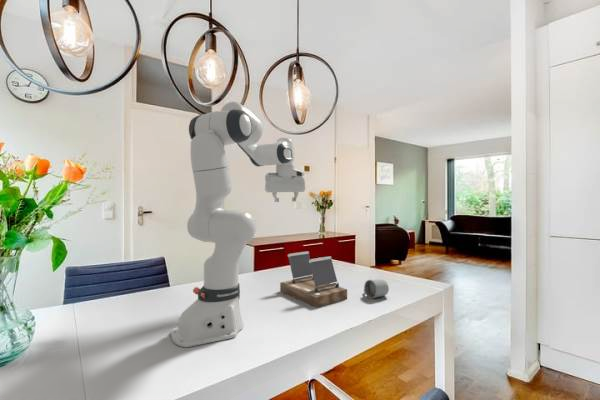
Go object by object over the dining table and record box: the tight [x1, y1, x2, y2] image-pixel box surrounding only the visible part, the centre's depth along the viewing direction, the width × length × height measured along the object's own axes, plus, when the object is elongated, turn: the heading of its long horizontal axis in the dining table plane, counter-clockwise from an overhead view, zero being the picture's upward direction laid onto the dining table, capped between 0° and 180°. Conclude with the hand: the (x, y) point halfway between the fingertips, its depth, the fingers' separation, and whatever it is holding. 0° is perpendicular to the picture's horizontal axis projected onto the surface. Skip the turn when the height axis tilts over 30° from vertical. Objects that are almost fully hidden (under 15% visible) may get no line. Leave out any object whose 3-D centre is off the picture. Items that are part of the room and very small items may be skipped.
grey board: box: [287, 250, 312, 279], centre depth 143 cm, size 11×2×11 cm, turn 127°
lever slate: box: [309, 256, 338, 287], centre depth 130 cm, size 11×2×11 cm, turn 127°
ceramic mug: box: [363, 278, 390, 299], centre depth 132 cm, size 11×8×8 cm
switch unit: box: [279, 275, 348, 308], centre depth 133 cm, size 17×26×6 cm, turn 37°
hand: (285, 201), depth 145 cm, fingers open, 8 cm apart
